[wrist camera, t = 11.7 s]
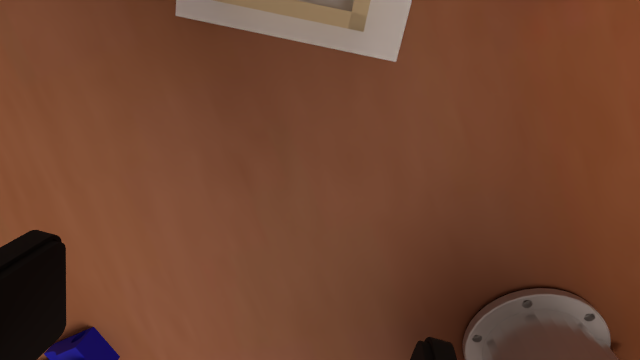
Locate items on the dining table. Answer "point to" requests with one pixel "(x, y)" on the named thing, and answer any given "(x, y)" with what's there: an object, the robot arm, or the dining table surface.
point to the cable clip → (82, 348)
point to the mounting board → (312, 21)
